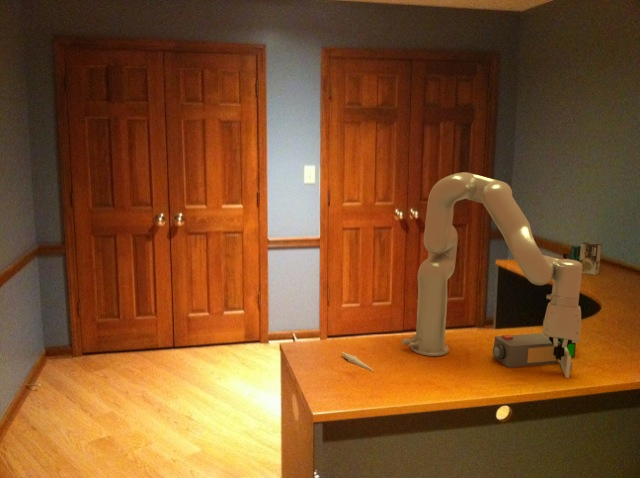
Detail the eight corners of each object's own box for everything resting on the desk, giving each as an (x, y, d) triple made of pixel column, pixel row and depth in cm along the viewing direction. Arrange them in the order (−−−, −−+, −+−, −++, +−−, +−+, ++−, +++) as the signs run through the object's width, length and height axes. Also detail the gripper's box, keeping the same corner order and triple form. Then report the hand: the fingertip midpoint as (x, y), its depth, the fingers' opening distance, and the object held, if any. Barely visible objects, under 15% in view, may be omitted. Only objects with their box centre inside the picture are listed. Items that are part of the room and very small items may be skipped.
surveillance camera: (566, 242, 334) (583, 245, 327) (564, 262, 337) (580, 266, 329) (561, 243, 331) (578, 246, 323) (559, 264, 333) (575, 267, 325)
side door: (571, 378, 172) (573, 357, 170) (565, 377, 172) (567, 356, 171) (564, 363, 184) (566, 342, 182) (559, 362, 184) (561, 342, 183)
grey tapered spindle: (338, 356, 184) (339, 351, 184) (345, 355, 186) (345, 349, 186) (370, 374, 173) (370, 369, 172) (376, 372, 174) (377, 367, 174)
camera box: (503, 368, 178) (505, 344, 177) (488, 357, 187) (489, 334, 186) (558, 363, 183) (561, 340, 182) (541, 353, 192) (543, 330, 191)
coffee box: (599, 273, 311) (602, 244, 308) (595, 275, 307) (598, 245, 304) (581, 270, 317) (585, 241, 315) (577, 272, 313) (580, 243, 310)
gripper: (538, 300, 171) (532, 358, 175) (593, 307, 166) (585, 366, 169) (538, 294, 178) (532, 350, 182) (591, 300, 173) (584, 358, 176)
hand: (558, 358), depth 176 cm, fingers closed
